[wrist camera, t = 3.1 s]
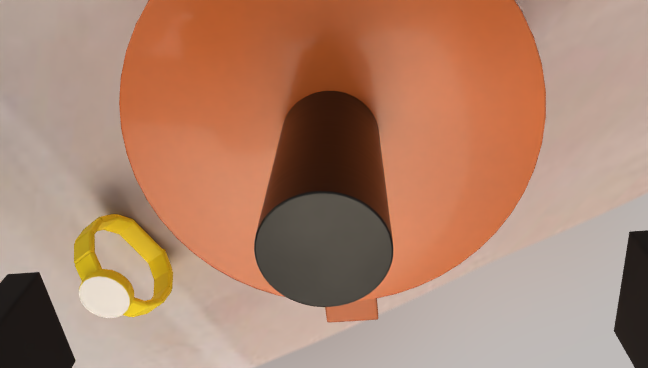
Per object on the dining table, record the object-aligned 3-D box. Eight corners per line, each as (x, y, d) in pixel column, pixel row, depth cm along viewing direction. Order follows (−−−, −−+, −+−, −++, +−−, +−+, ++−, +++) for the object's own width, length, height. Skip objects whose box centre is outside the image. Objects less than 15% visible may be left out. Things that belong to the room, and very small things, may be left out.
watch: (191, 258, 37) (165, 323, 32) (160, 280, 38) (130, 346, 33) (119, 192, 35) (79, 249, 30) (89, 216, 36) (44, 276, 30)
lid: (179, 296, 27) (113, 465, 19) (77, -71, 20) (-93, -33, 12) (526, 273, 26) (601, 444, 18) (551, -127, 19) (695, -124, 11)
